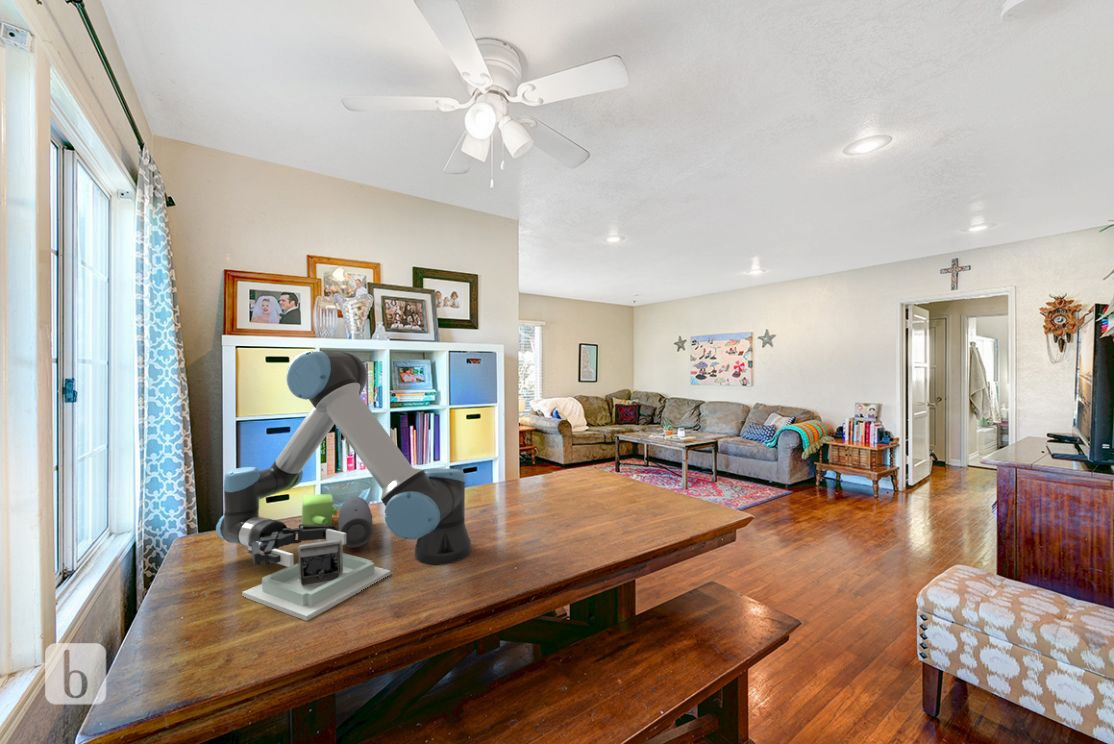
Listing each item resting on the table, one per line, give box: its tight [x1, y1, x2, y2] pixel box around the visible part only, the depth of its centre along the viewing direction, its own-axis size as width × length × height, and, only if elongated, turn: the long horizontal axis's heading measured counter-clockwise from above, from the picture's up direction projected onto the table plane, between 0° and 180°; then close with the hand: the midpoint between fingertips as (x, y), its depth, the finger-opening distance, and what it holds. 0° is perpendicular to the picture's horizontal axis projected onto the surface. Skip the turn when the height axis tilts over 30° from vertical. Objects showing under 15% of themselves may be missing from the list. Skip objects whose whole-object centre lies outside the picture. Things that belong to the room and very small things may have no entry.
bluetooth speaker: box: [337, 496, 374, 548], centre depth 132 cm, size 23×9×10 cm, turn 26°
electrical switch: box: [297, 539, 344, 585], centre depth 103 cm, size 9×5×9 cm, turn 113°
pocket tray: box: [241, 552, 392, 622], centre depth 104 cm, size 22×22×4 cm
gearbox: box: [301, 493, 338, 525], centre depth 141 cm, size 18×10×10 cm, turn 29°
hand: (320, 549), depth 103 cm, fingers open, 13 cm apart
